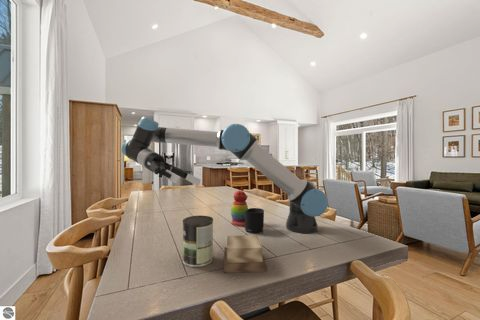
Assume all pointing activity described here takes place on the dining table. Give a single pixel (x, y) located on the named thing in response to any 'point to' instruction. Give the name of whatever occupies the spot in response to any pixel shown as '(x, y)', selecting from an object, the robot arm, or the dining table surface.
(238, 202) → the stacking bear
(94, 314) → the dining table surface
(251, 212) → the pen holder
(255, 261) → the plinth
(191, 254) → the coffee can
